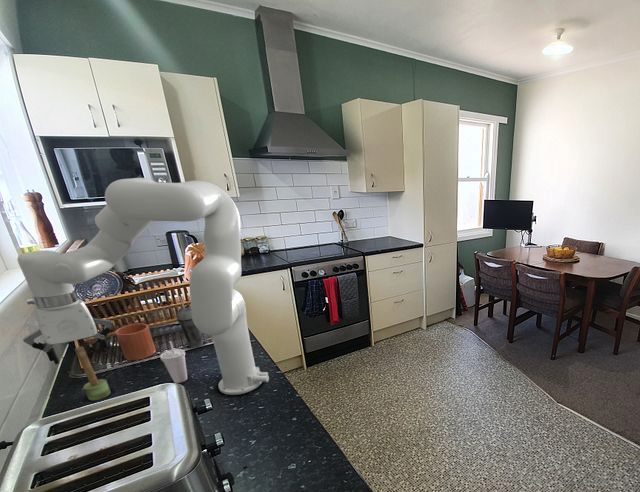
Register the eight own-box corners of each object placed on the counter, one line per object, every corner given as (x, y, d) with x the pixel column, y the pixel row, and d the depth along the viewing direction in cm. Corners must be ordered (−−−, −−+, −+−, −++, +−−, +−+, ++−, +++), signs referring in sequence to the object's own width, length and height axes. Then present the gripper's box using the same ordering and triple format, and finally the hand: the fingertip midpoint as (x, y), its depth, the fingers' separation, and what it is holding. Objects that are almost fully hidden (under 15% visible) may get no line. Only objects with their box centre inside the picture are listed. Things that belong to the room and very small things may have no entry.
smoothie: (180, 386, 107) (168, 347, 101) (163, 383, 108) (149, 344, 103) (197, 375, 113) (186, 337, 107) (180, 372, 114) (168, 335, 108)
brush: (115, 390, 105) (96, 344, 98) (101, 400, 100) (79, 352, 93) (98, 390, 105) (78, 343, 98) (83, 400, 100) (61, 352, 93)
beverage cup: (211, 343, 133) (198, 294, 124) (191, 351, 127) (176, 300, 119) (201, 338, 136) (188, 290, 128) (181, 345, 130) (166, 295, 122)
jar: (162, 348, 128) (154, 323, 124) (144, 360, 120) (134, 335, 116) (137, 347, 128) (128, 323, 124) (117, 359, 120) (107, 334, 116)
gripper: (6, 311, 82) (36, 373, 89) (102, 296, 93) (122, 351, 100) (8, 302, 86) (36, 361, 93) (99, 288, 98) (119, 342, 105)
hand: (81, 356), depth 97 cm, fingers open, 9 cm apart
